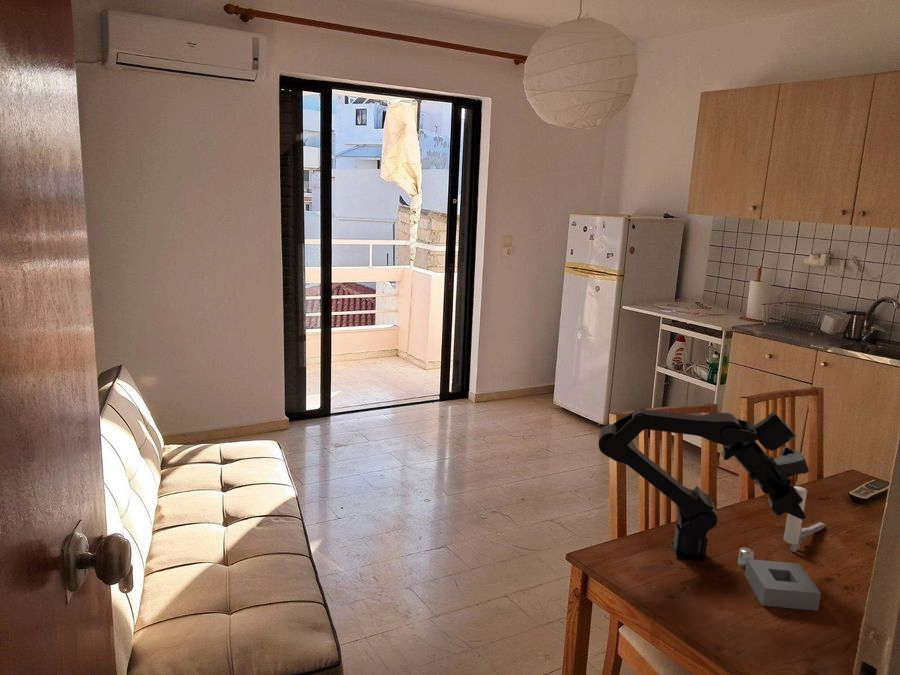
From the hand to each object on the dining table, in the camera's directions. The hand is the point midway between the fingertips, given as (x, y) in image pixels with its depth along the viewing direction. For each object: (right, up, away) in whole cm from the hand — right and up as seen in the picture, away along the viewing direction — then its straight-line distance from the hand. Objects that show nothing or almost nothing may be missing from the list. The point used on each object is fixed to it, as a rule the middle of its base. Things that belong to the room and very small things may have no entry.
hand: (802, 514), depth 148 cm
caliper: (+11, -11, +17) cm, 23 cm away
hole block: (-8, -15, -6) cm, 18 cm away
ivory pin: (-2, -6, +2) cm, 7 cm away
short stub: (-11, -13, +4) cm, 17 cm away
